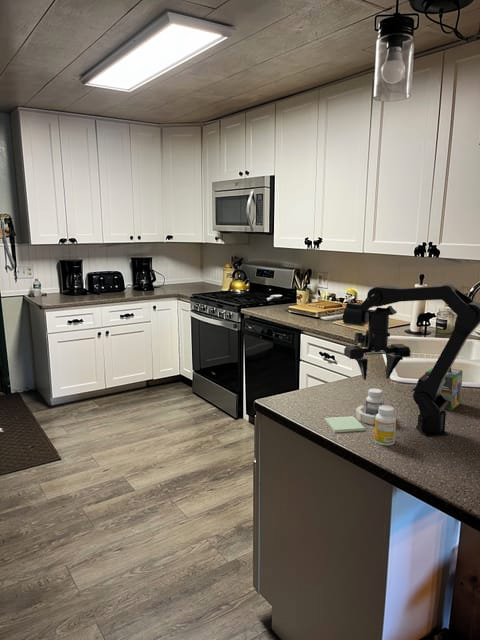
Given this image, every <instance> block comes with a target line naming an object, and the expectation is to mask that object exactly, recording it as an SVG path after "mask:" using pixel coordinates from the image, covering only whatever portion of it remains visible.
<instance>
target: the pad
mask: <svg viewBox="0 0 480 640" xmlns="http://www.w3.org/2000/svg"><path fill="white" fill-rule="evenodd" d="M324 422H326V424H327V425H328V427H329V428H330V429H331V430H332V431H333V433H336V434H337V433H347V432H348V433H350V432H364V431H366V427H364V425H363V424H361V421H359V420H358V419H357V418H356V416H351V415H349V416H338V417H337V416H336V417H325V418H324Z"/></svg>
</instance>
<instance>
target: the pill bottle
mask: <svg viewBox="0 0 480 640" xmlns="http://www.w3.org/2000/svg"><path fill="white" fill-rule="evenodd" d="M367 395H368V396H366V399H365V414H369V415H373V416H375V417H376V415H377V414H378V413H379V412H378V409H379V406H382V405H385V399H384V397H383V391H382V390H381V388H380V389H379V388H369V389H368V394H367Z"/></svg>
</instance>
